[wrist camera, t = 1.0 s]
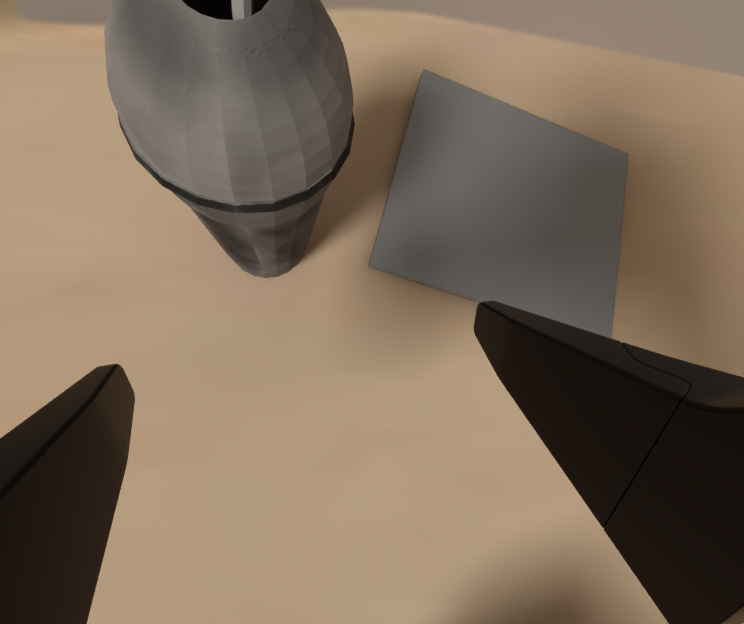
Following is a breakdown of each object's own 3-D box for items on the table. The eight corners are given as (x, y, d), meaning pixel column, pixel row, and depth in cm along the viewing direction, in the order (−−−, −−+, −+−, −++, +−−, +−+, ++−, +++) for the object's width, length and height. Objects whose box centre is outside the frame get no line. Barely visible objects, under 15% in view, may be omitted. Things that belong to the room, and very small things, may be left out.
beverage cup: (176, 249, 22) (-686, -783, 3) (257, 167, 24) (113, -746, 5) (277, 323, 22) (180, -97, 3) (347, 236, 24) (563, -345, 5)
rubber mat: (604, 342, 27) (610, 341, 26) (368, 266, 24) (370, 263, 23) (621, 158, 31) (628, 154, 30) (420, 75, 28) (423, 69, 27)
